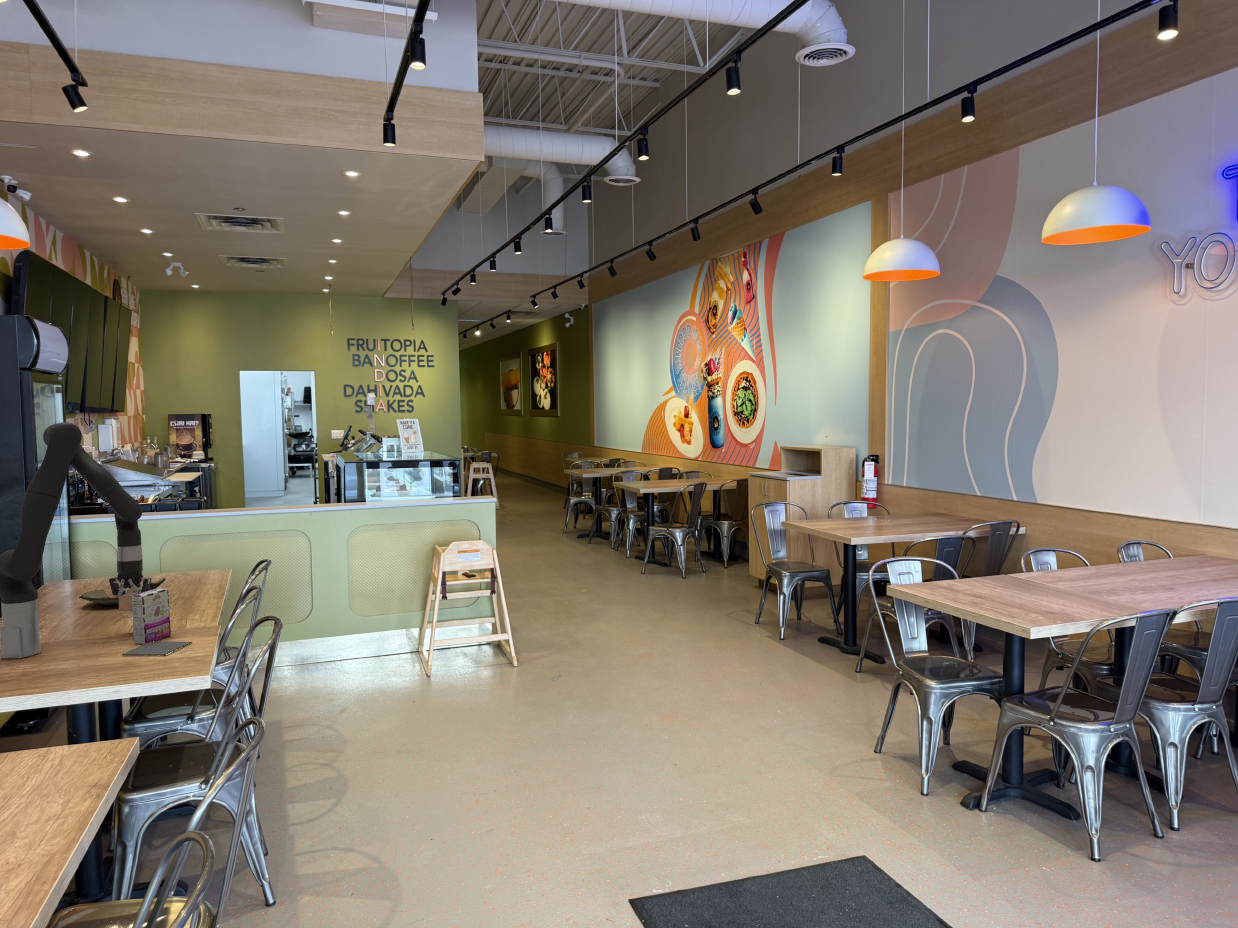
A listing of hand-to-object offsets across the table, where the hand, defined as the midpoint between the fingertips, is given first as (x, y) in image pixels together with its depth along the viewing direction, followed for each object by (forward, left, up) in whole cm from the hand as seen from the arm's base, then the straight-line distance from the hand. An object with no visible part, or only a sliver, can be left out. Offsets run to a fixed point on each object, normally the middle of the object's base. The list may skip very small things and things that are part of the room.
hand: (130, 607), depth 272 cm
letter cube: (0, 0, -1) cm, 1 cm away
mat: (-19, -22, -9) cm, 30 cm away
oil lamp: (+45, +33, -9) cm, 57 cm away
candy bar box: (-8, -13, -9) cm, 18 cm away
